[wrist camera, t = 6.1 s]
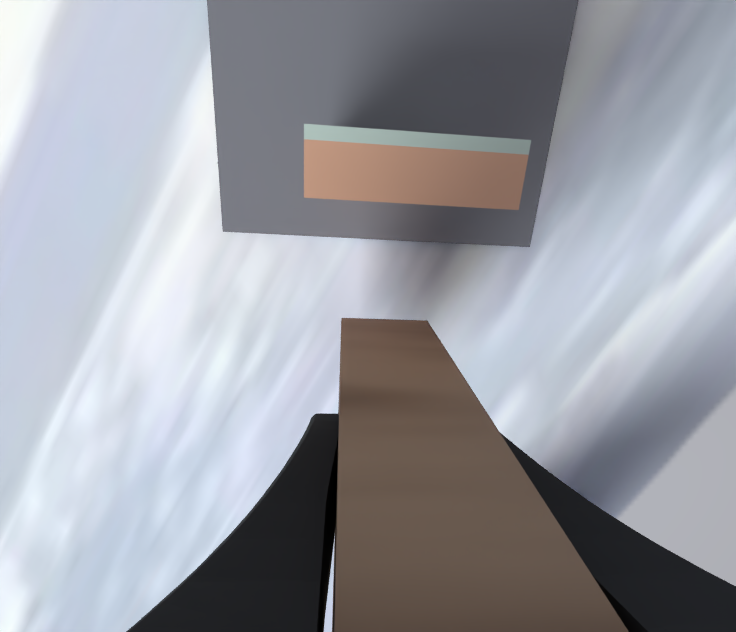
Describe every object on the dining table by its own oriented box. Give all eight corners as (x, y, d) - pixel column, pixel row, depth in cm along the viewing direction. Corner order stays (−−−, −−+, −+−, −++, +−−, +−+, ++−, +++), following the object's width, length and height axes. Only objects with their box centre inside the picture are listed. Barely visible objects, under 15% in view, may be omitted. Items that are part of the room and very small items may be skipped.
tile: (444, 199, 15) (518, 210, 9) (321, 192, 15) (304, 197, 8) (448, 160, 15) (531, 140, 8) (322, 151, 15) (303, 123, 8)
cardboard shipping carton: (414, 441, 15) (541, 893, 5) (337, 440, 14) (323, 913, 5) (427, 320, 13) (642, 651, 4) (341, 318, 13) (334, 662, 3)
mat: (525, 245, 17) (529, 246, 16) (225, 230, 16) (222, 231, 15) (609, -191, 12) (618, -203, 12) (194, -250, 11) (188, -265, 11)
